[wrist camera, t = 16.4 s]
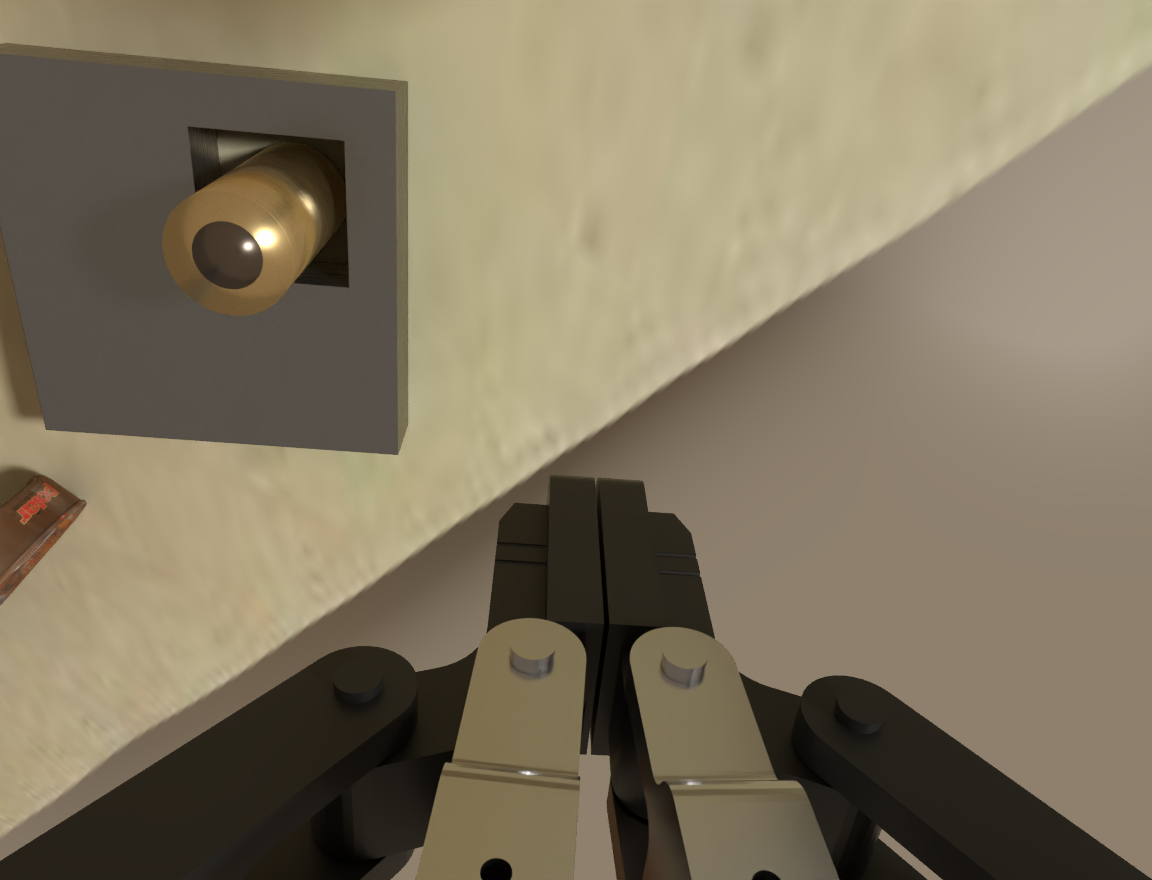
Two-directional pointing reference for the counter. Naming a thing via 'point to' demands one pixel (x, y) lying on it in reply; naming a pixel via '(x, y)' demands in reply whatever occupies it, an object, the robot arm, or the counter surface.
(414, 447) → the counter surface
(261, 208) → the golden brown cylinder
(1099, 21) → the counter surface
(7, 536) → the tin
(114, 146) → the jig
